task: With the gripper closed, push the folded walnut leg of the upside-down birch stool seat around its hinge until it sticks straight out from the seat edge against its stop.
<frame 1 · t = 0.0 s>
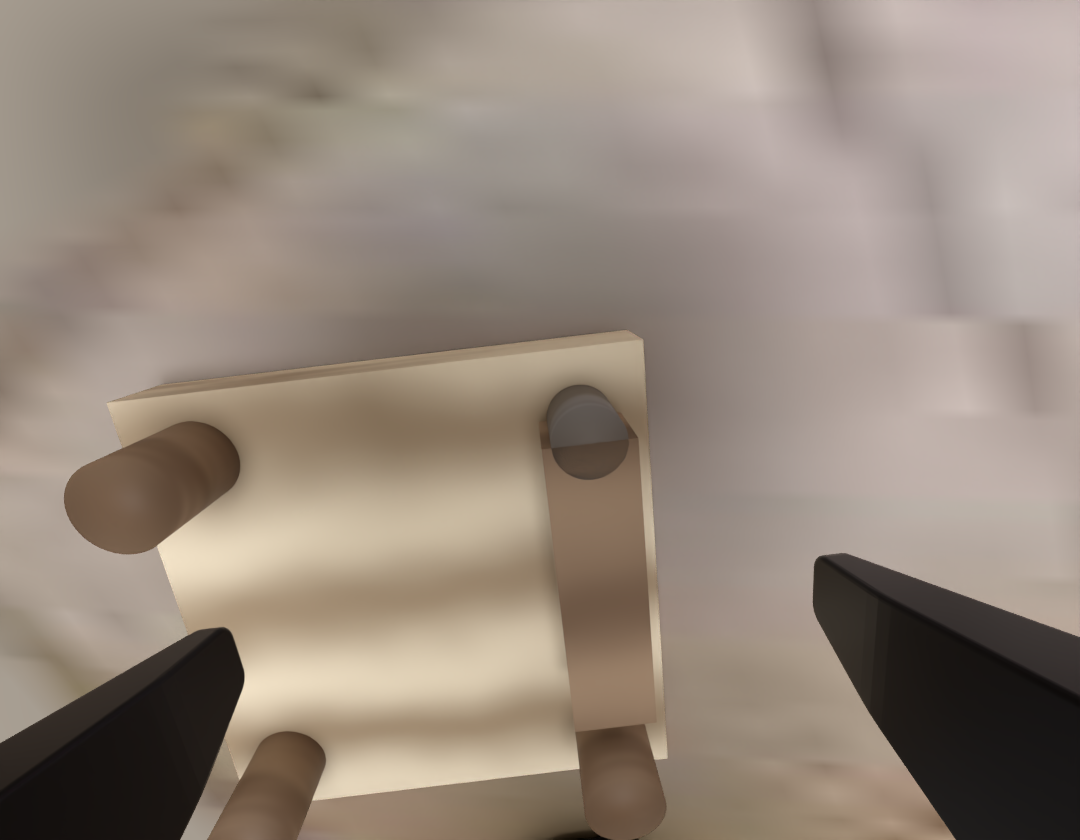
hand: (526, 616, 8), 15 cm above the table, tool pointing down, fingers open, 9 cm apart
stool seat: (433, 562, 24), on the table
hinged leg: (596, 558, 19), point 5 cm above the table, hinge at 0.0°
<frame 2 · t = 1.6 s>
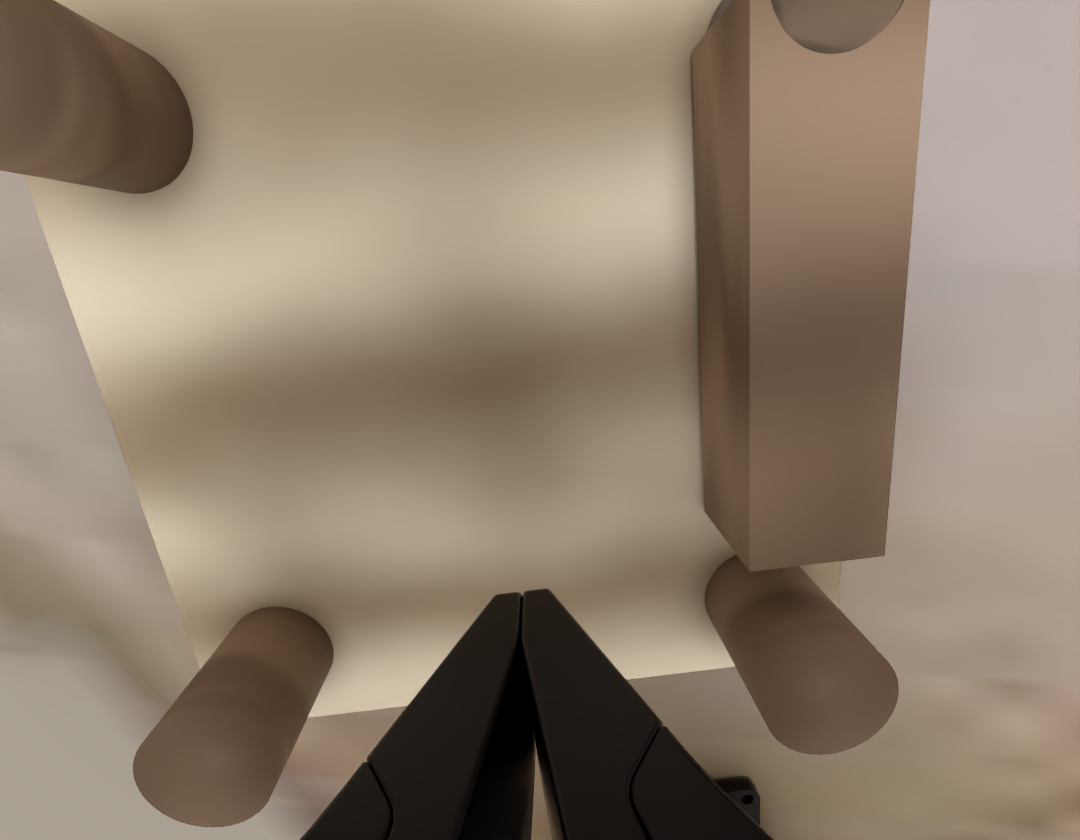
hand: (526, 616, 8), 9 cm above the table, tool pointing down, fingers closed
stool seat: (491, 369, 17), on the table
hinged leg: (789, 277, 11), point 5 cm above the table, hinge at 0.0°
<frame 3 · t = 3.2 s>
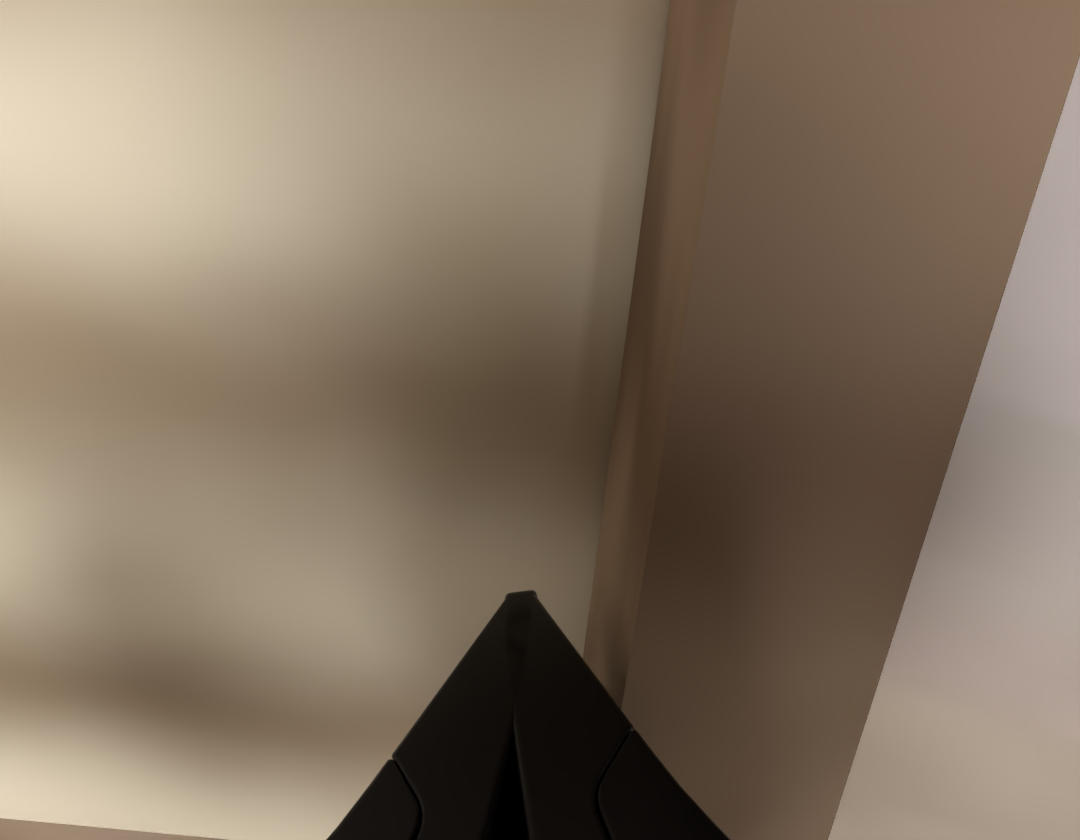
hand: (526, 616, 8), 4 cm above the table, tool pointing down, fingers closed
stool seat: (322, 374, 12), on the table
hinged leg: (761, 364, 7), point 5 cm above the table, hinge at 3.1°, touching gripper
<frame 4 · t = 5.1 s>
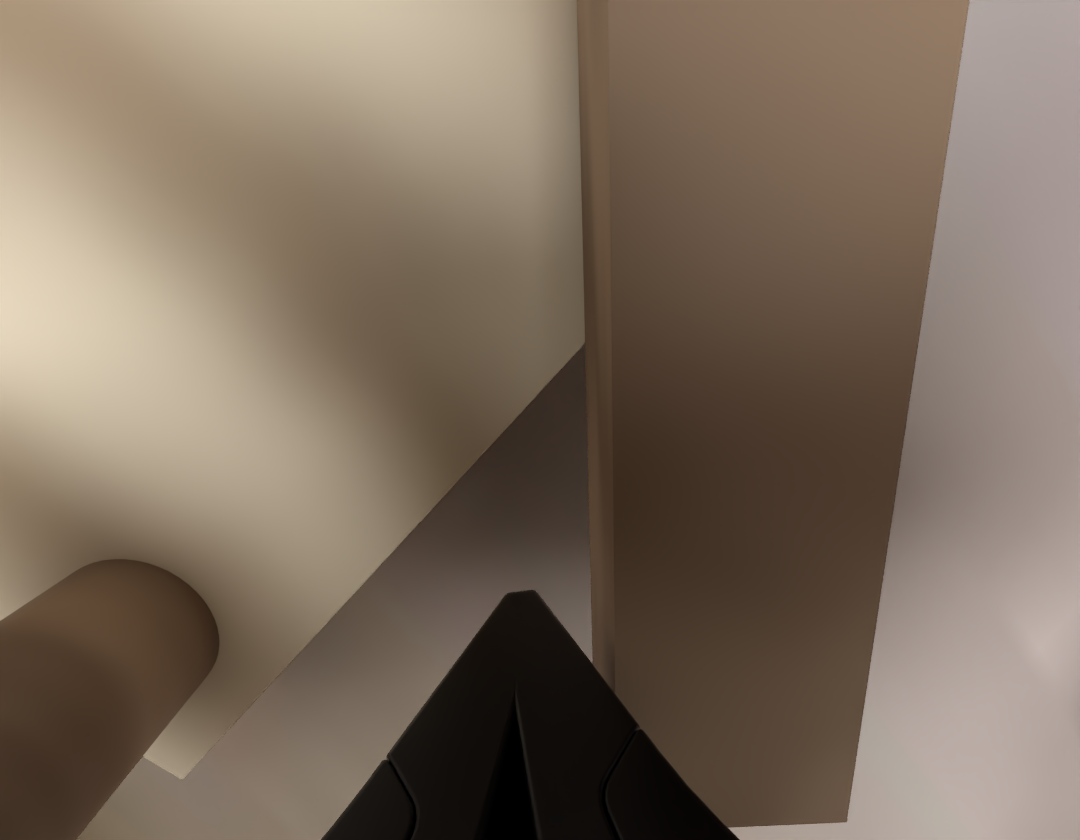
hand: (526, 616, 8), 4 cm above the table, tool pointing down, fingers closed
stool seat: (113, 74, 10), on the table
hinged leg: (714, 344, 7), point 5 cm above the table, hinge at 44.8°, touching gripper
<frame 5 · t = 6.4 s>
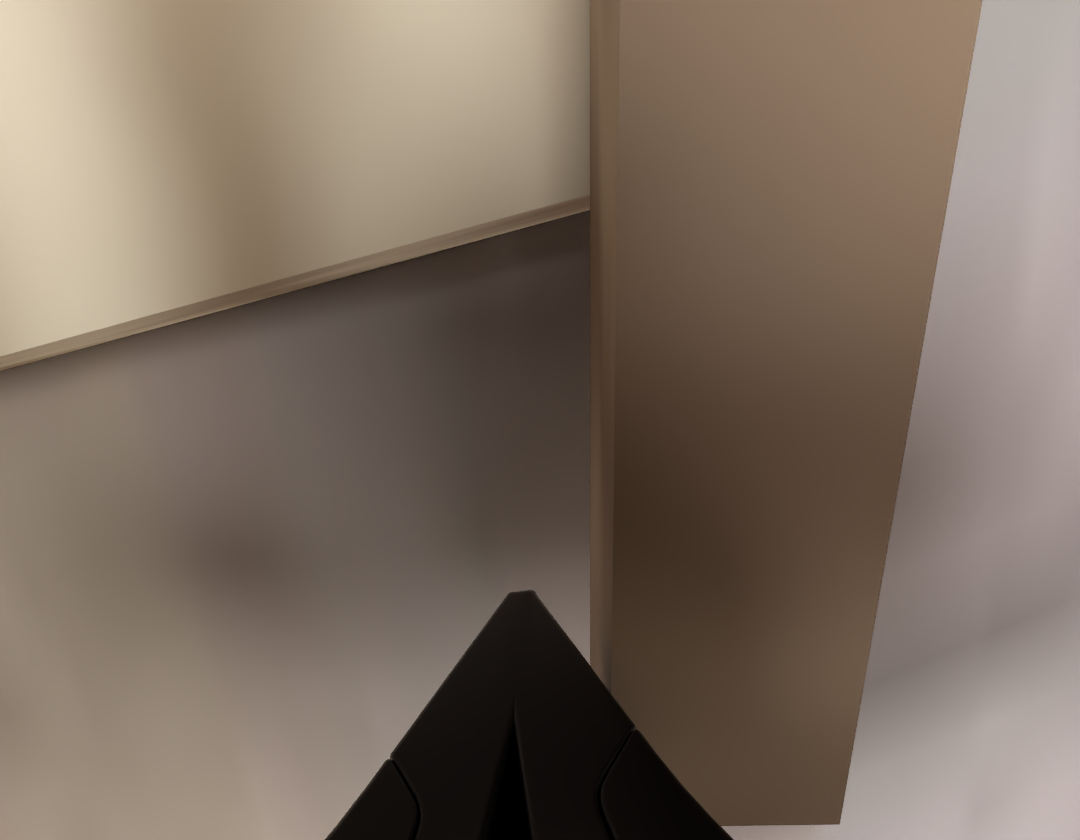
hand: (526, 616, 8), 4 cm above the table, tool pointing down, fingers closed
hinged leg: (719, 343, 7), point 5 cm above the table, hinge at 77.2°, touching gripper
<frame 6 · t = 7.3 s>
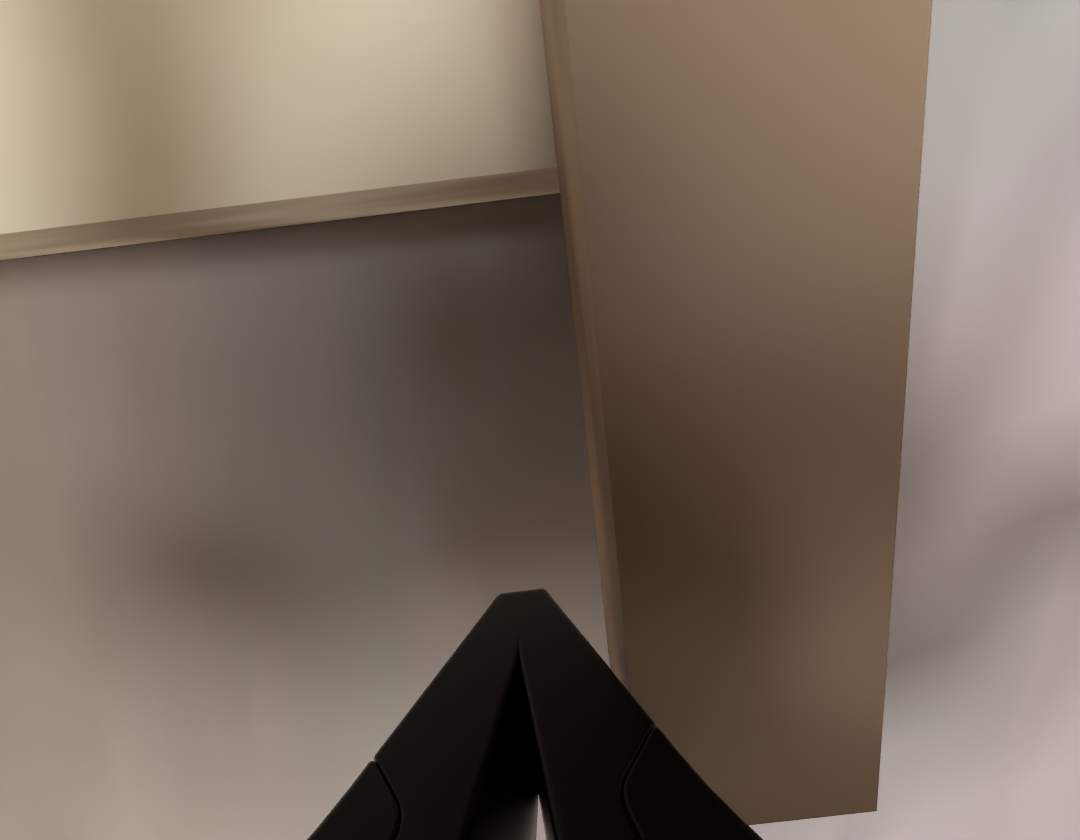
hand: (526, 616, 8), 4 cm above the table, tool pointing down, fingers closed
hinged leg: (705, 337, 7), point 5 cm above the table, hinge at 90.6°, touching gripper
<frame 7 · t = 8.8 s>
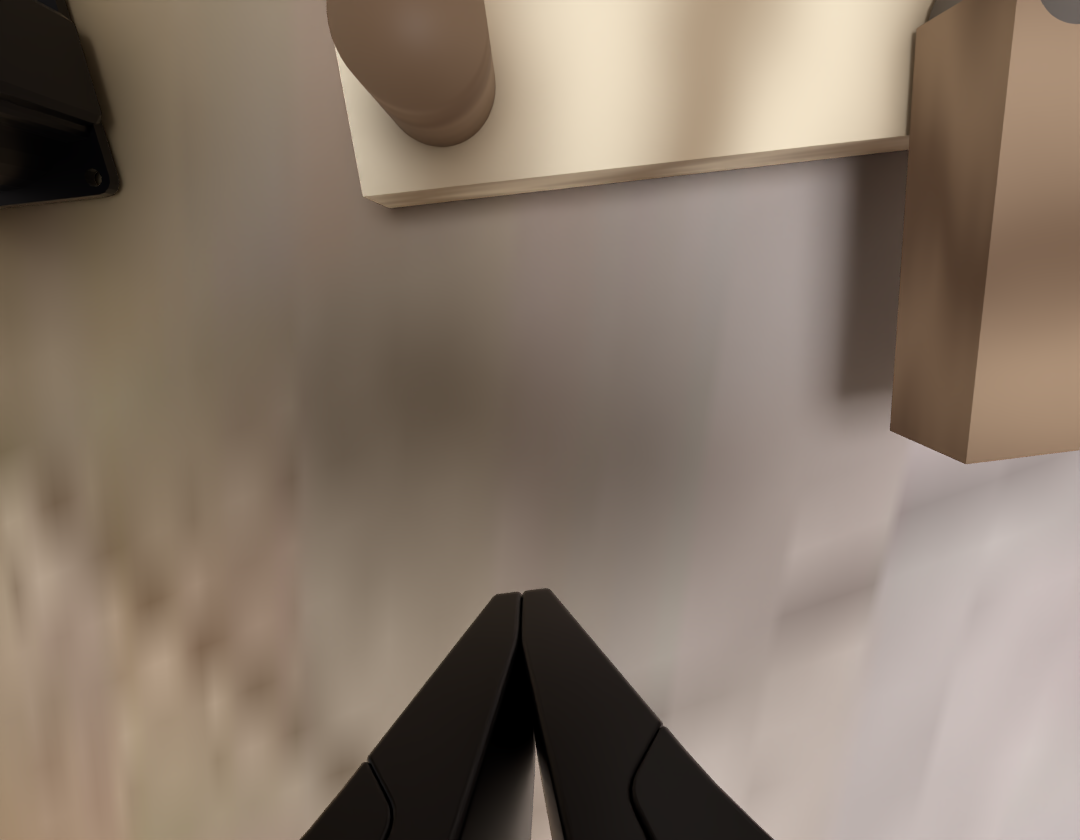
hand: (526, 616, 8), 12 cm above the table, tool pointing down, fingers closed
hinged leg: (1001, 216, 14), point 5 cm above the table, hinge at 90.7°
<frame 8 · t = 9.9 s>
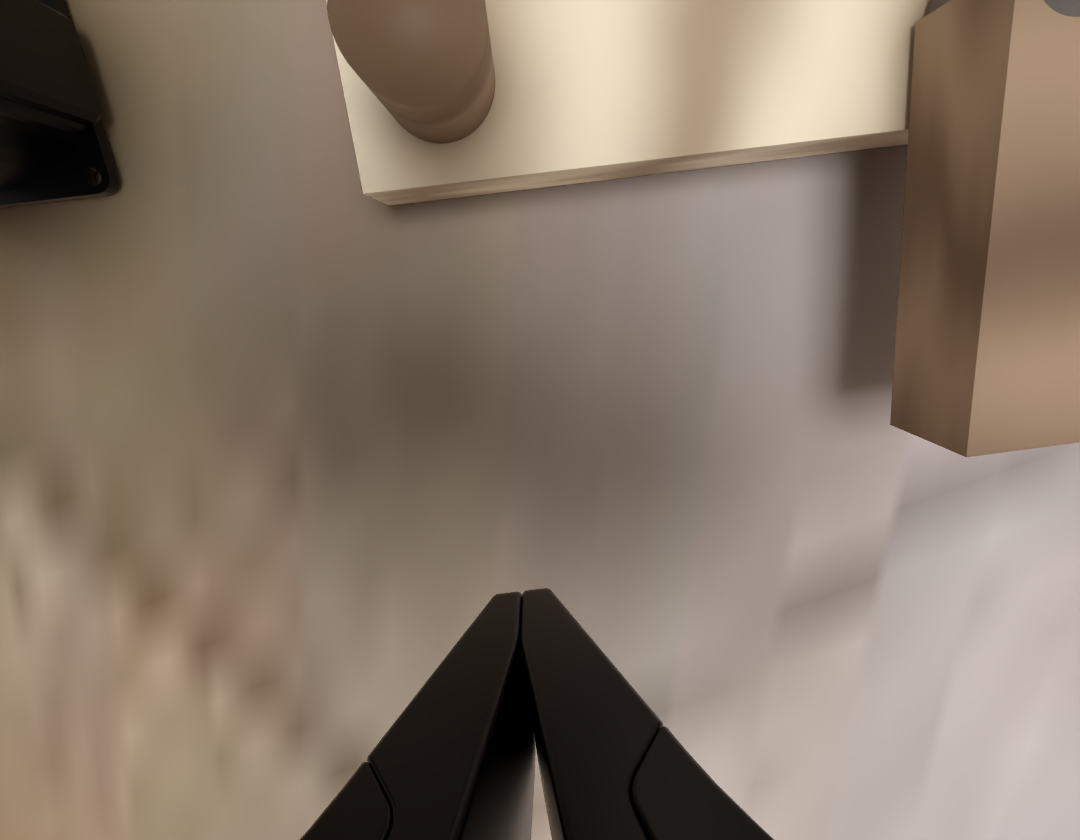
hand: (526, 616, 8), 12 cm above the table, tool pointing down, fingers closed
hinged leg: (1000, 209, 14), point 5 cm above the table, hinge at 90.7°
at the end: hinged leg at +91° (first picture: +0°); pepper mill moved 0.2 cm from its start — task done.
